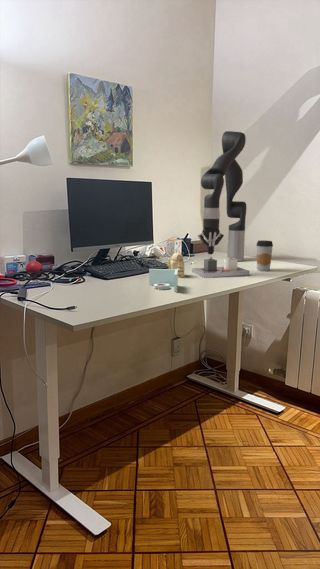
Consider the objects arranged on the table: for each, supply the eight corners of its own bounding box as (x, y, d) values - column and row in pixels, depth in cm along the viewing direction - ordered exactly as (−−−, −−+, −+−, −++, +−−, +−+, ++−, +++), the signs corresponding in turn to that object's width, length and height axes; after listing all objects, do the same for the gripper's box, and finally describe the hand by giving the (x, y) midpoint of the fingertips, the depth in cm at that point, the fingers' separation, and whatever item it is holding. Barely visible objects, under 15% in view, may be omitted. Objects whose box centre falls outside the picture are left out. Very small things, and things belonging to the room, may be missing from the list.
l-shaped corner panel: (149, 286, 197) (149, 269, 195) (177, 287, 196) (177, 269, 194) (146, 292, 185) (146, 273, 183) (176, 293, 184) (177, 274, 183)
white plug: (224, 272, 228) (224, 255, 226) (232, 272, 229) (233, 255, 228) (228, 274, 224) (229, 257, 222) (236, 273, 225) (237, 256, 223)
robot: (167, 279, 210) (167, 246, 208) (163, 276, 218) (163, 244, 215) (189, 279, 213) (190, 246, 210) (184, 276, 220) (185, 244, 217)
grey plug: (203, 273, 224) (204, 256, 223) (212, 273, 226) (212, 256, 224) (207, 275, 220) (208, 258, 218) (216, 274, 221) (217, 257, 220)
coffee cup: (270, 269, 242) (272, 240, 239) (272, 271, 234) (274, 242, 231) (254, 268, 242) (255, 240, 240) (255, 271, 234) (257, 241, 231)
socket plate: (191, 273, 227) (191, 266, 227) (235, 271, 235) (235, 264, 234) (203, 278, 214) (203, 271, 214) (249, 275, 222) (249, 269, 221)
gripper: (220, 216, 223) (219, 252, 227) (195, 217, 219) (194, 253, 222) (227, 217, 216) (226, 254, 220) (201, 218, 212) (200, 255, 215)
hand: (210, 254), depth 221 cm, fingers closed
